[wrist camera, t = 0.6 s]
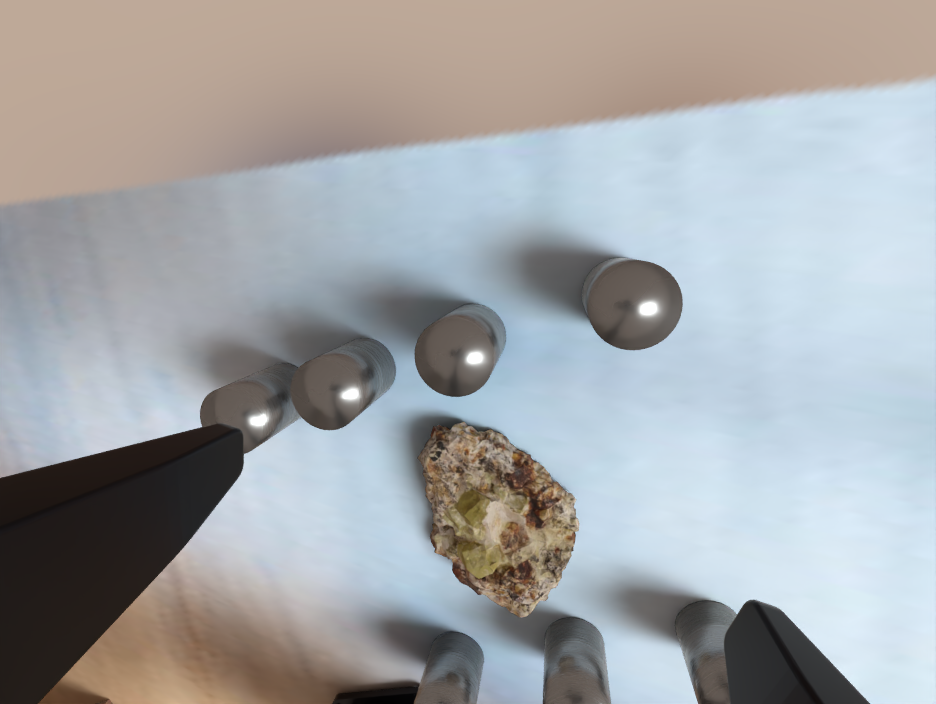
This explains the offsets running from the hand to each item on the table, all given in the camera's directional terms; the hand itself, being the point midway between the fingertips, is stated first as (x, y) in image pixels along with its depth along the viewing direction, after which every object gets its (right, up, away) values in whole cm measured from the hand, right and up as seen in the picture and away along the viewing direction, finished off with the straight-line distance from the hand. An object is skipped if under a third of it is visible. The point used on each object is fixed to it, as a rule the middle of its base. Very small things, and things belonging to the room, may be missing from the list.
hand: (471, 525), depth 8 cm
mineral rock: (+1, -5, +17) cm, 18 cm away
